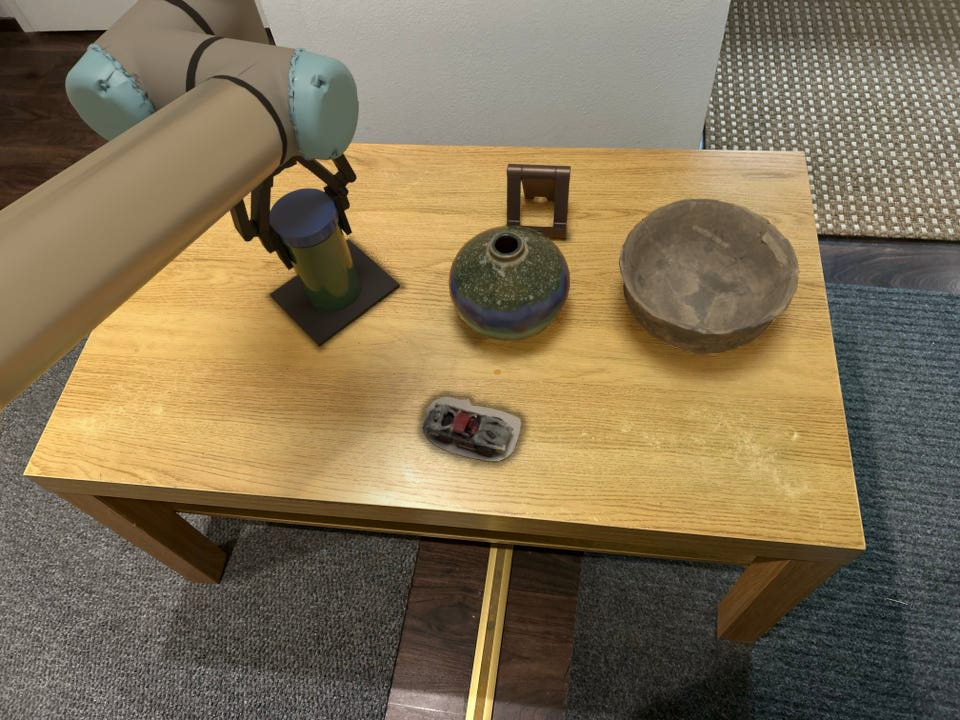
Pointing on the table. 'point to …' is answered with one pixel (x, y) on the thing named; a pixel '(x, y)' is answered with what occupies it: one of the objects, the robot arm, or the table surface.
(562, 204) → the tablet stand
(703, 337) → the bowl
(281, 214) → the lid
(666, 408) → the table surface
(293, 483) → the table surface
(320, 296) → the jar
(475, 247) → the vase
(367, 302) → the mat
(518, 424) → the toy car
